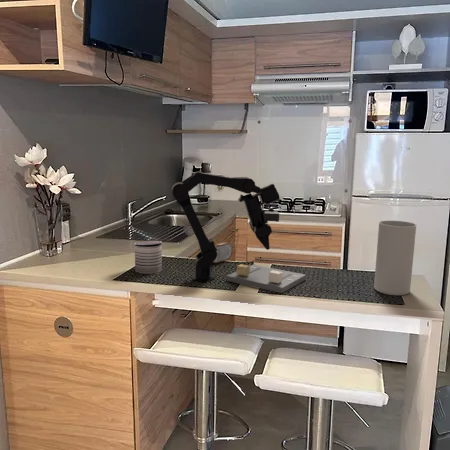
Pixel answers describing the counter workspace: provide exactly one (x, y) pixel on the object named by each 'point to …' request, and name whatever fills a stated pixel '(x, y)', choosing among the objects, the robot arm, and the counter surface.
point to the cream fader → (275, 276)
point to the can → (148, 257)
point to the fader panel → (267, 279)
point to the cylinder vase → (394, 257)
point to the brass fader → (243, 270)
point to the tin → (223, 252)
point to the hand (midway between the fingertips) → (266, 246)
